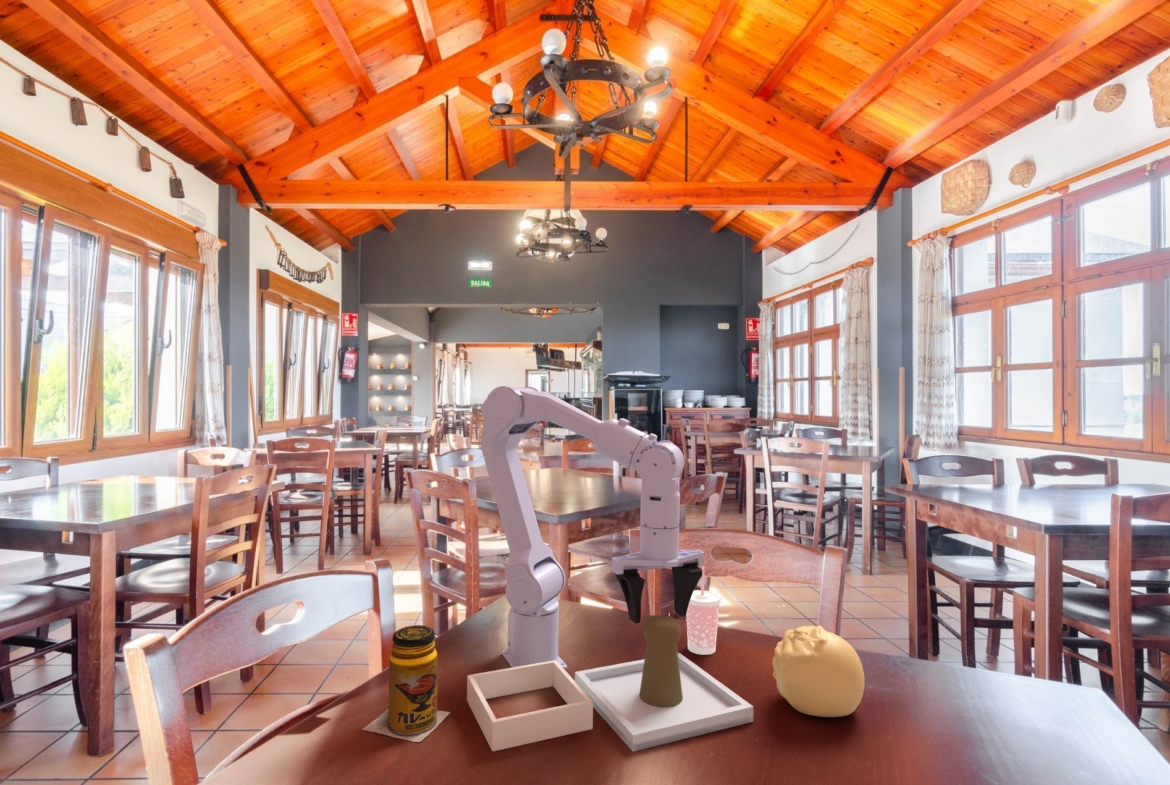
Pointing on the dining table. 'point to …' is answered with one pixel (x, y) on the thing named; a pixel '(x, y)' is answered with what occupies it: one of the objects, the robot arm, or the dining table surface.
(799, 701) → the sculpture
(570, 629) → the dining table surface
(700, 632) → the beverage cup
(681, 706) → the light grey tray
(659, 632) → the cork
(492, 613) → the dining table surface
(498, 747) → the cream bin
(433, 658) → the condiment
